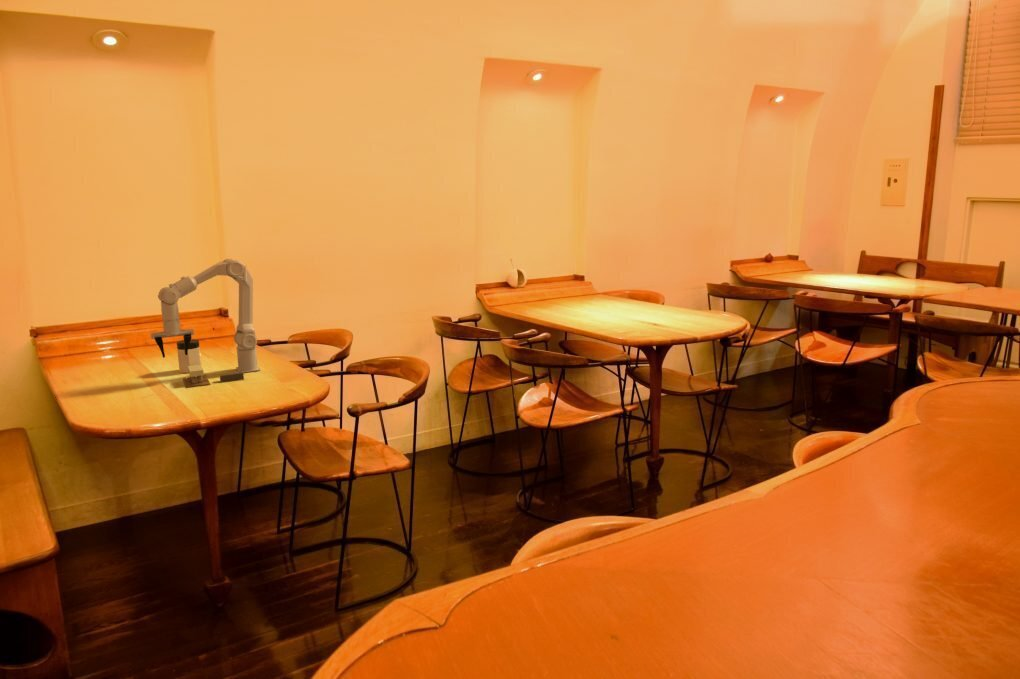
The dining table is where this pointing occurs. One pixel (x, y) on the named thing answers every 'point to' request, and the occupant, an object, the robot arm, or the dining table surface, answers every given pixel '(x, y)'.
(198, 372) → the shelf board
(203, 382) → the peg base
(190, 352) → the jar
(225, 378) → the block
